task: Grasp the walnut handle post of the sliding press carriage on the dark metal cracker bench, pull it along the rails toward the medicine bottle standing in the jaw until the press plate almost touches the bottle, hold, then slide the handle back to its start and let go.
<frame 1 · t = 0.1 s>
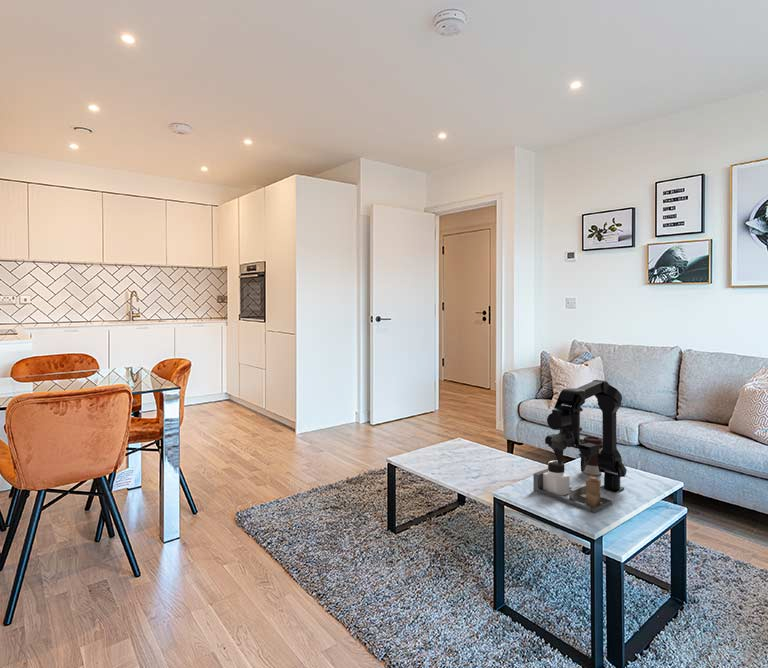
hand: (571, 467, 175), 14 cm above the table, fingers open, 9 cm apart
medicine bottle: (556, 492, 190), resting in cracker bench
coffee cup: (592, 473, 211), on the table
cracker bench: (583, 501, 181), on the table
press carriage: (586, 489, 180), point 5 cm above the table, slide at 0.0 cm
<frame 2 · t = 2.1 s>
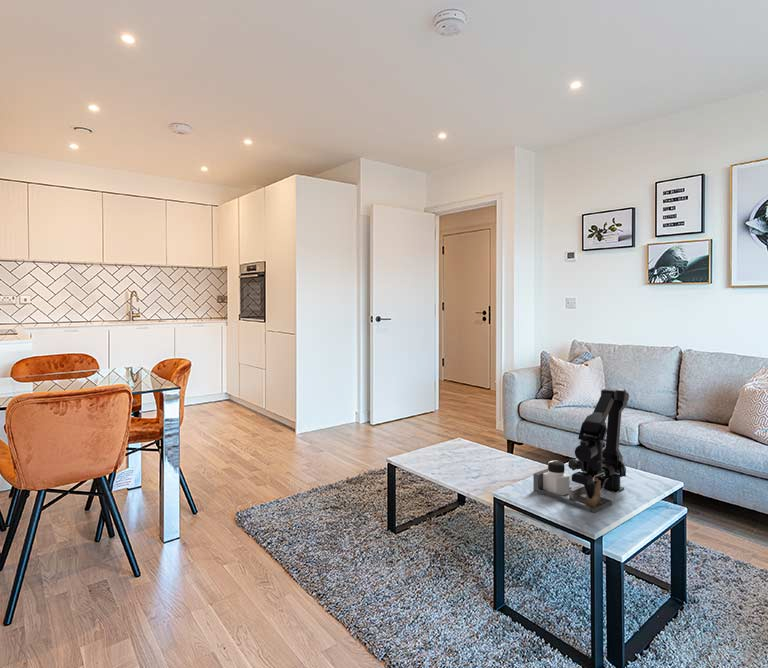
hand: (593, 497, 178), 3 cm above the table, fingers closed on press carriage, 3 cm apart
press carriage: (586, 489, 180), point 5 cm above the table, slide at 0.0 cm, touching gripper
everything else where it was.
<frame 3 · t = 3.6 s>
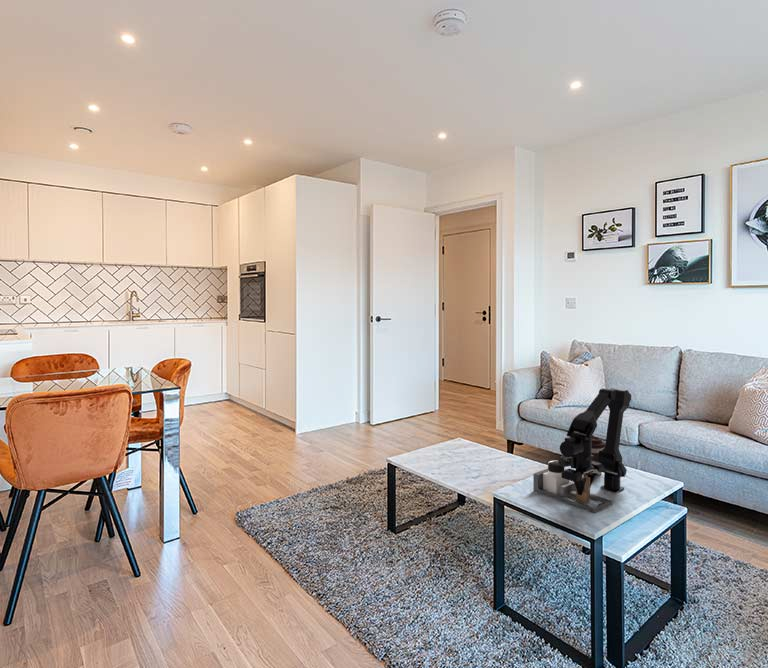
hand: (582, 493, 181), 3 cm above the table, fingers closed on press carriage, 3 cm apart
press carriage: (576, 486, 183), point 5 cm above the table, slide at 4.1 cm, touching gripper
everything else where it was.
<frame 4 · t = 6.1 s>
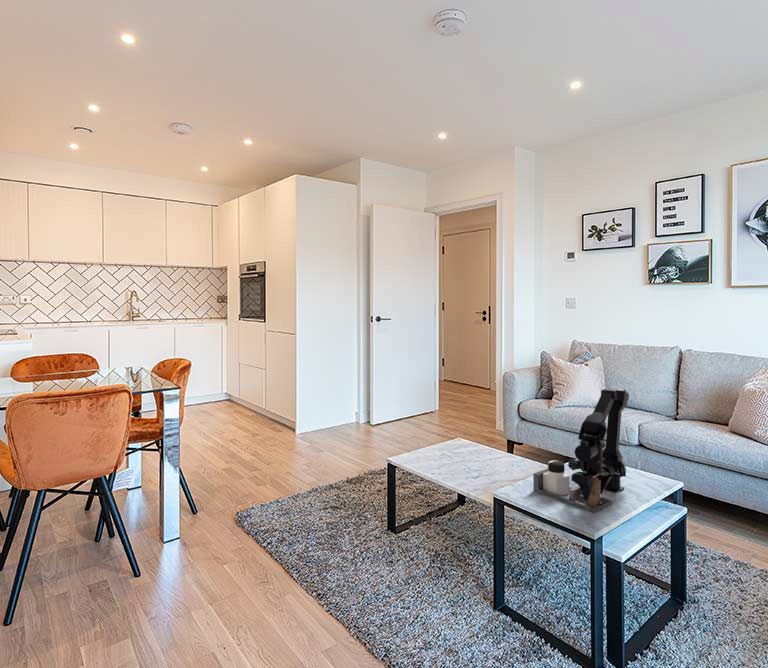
hand: (593, 497, 178), 3 cm above the table, fingers open, 9 cm apart
press carriage: (586, 489, 180), point 5 cm above the table, slide at 0.1 cm
everything else where it was.
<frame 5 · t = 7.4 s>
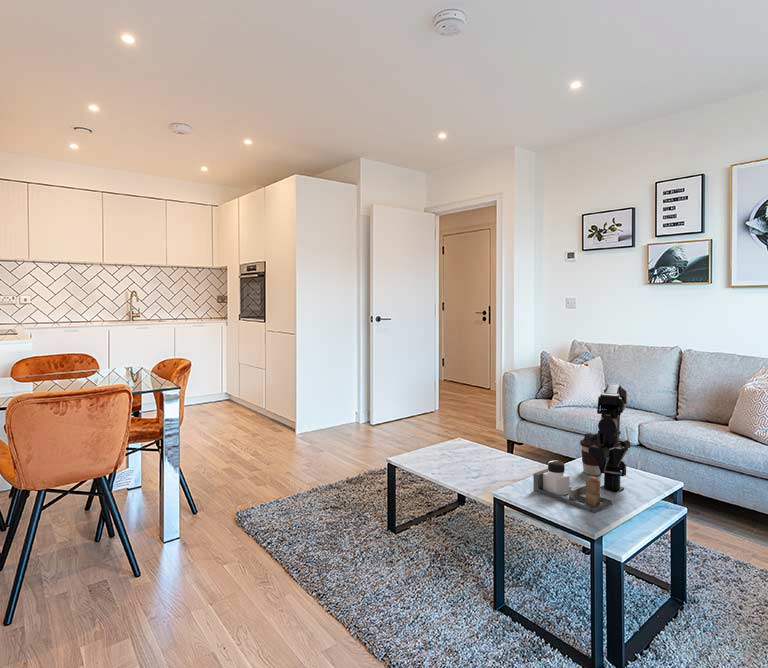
hand: (609, 470, 180), 12 cm above the table, fingers open, 9 cm apart
nothing on the table moved.
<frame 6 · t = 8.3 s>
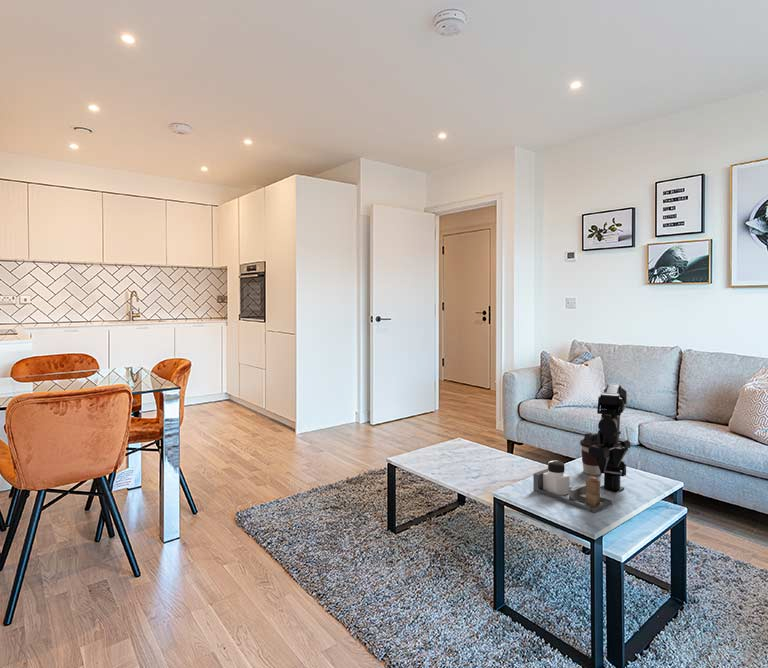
hand: (609, 470, 180), 12 cm above the table, fingers open, 9 cm apart
nothing on the table moved.
at the end: press carriage slide at 0.1 cm; the gripper is holding nothing; medicine bottle moved 0.2 cm from its start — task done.
